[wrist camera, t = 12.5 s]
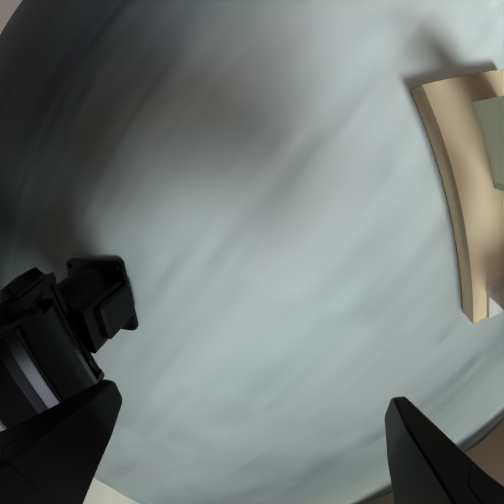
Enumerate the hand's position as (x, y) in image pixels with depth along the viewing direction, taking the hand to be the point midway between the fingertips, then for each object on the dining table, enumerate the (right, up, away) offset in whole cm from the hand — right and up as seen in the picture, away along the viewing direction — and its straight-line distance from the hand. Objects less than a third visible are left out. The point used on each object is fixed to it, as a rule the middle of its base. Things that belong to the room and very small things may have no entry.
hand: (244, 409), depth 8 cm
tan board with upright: (+19, +9, +8) cm, 23 cm away
